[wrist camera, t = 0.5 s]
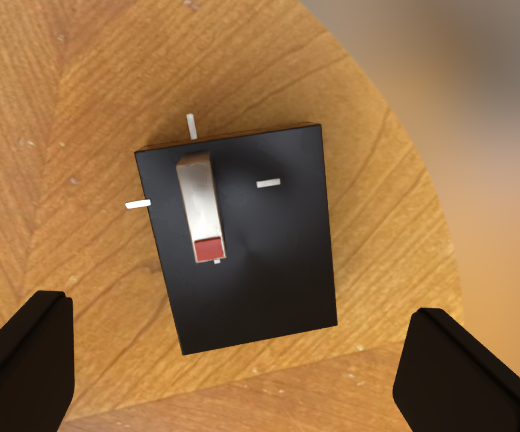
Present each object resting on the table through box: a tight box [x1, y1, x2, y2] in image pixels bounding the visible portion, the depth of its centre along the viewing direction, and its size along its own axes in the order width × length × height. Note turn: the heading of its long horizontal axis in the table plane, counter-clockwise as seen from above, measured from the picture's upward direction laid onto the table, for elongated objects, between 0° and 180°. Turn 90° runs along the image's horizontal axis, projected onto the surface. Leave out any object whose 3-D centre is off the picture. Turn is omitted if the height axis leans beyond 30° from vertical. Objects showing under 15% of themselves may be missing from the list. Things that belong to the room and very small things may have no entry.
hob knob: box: [176, 150, 227, 263], centre depth 20 cm, size 5×2×5 cm, turn 8°
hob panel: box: [126, 114, 338, 355], centre depth 24 cm, size 16×12×3 cm
